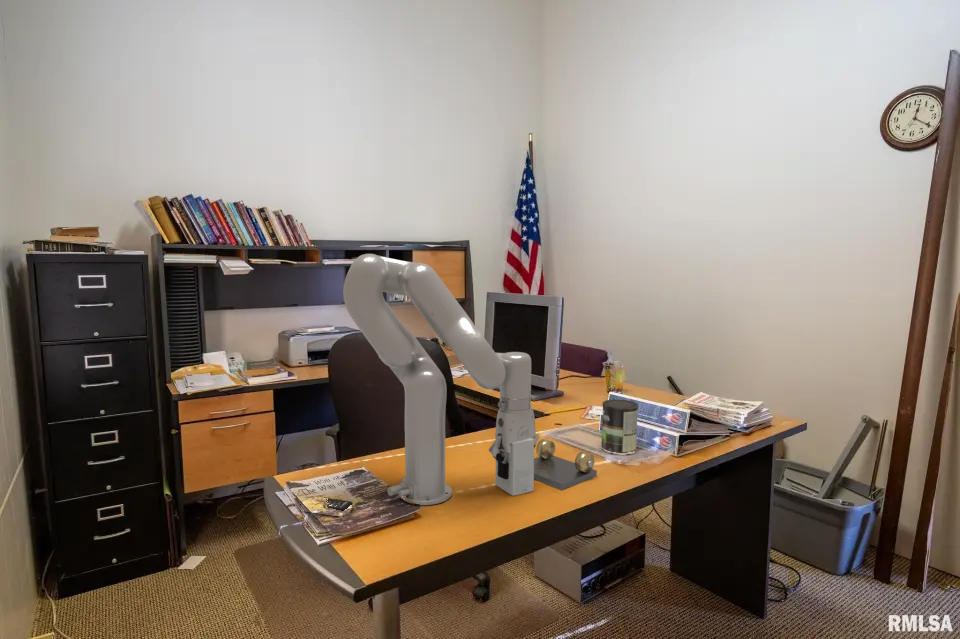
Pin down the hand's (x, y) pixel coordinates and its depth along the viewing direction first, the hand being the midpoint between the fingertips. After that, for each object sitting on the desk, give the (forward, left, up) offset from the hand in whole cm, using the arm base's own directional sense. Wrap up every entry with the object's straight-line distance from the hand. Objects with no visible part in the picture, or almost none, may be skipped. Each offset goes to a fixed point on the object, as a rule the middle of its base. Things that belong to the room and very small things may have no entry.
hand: (514, 473), depth 140 cm
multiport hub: (-41, +19, -4) cm, 45 cm away
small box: (0, 0, -4) cm, 4 cm away
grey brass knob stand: (+15, 0, -4) cm, 15 cm away
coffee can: (+44, 0, -4) cm, 44 cm away
